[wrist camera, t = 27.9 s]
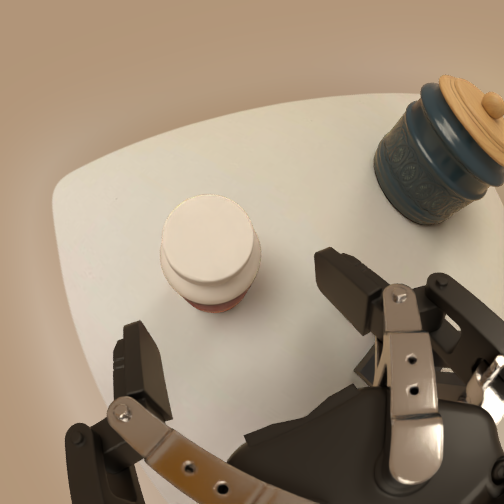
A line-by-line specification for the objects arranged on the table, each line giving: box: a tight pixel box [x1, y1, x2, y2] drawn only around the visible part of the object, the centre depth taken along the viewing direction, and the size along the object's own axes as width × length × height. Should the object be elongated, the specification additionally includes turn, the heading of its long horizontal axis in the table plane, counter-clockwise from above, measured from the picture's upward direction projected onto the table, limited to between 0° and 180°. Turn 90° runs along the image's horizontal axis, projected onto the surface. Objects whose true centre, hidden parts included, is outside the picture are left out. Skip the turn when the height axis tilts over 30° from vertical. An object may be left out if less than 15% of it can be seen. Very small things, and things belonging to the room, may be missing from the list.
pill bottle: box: [160, 194, 261, 313], centre depth 19 cm, size 6×6×11 cm
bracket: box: [354, 331, 469, 404], centre depth 17 cm, size 9×8×13 cm
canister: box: [374, 75, 504, 225], centre depth 22 cm, size 13×13×18 cm
